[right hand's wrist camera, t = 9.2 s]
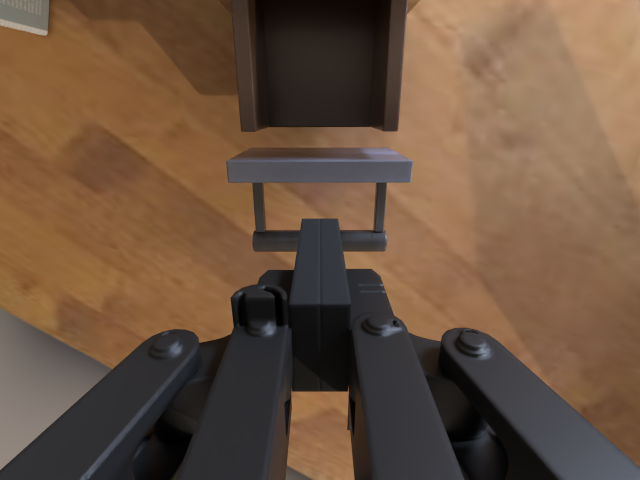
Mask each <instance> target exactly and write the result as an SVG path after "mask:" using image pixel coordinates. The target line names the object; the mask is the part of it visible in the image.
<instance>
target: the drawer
mask: <svg viewBox="0 0 640 480" xmlns="http://www.w3.org/2000/svg"><path fill="white" fill-rule="evenodd" d="M407 4H408V0H231V9H232V21H233V34H234V46H235V59H236V72H237V84H238V97H239V110H240V122H241V131H242V132H255V131H258V130H261V129H264V128H267V127H372V128H375V129H378V130H382V131H398V122H399V109H400V96H401V82H402V69H403V56H404V43H405V30H406V17H407ZM226 163H227V174H228V182H229V183H253V197H254V211H255V225H256V230H255V231H254V233H253V249H254V251H255V252H297V248H298V242H299V235H300V230H266V221H265V204H264V188H263V183H376V192H375V210H374V227H373V229H374V230H340V236H341V242H342V248H343V252H384V251H385V250H386V246H387V236H386V232H385V230H383V229H384V215H385V200H386V186H387V183H405V182H411V175H412V165H413V161H412V160H410V159H408V158H406V157H405V156H403V155H401V154H399V153H397V152H395V151H394V150H392V149H390V148H250V149H248V150H246V151H244V152H242V153H240V154H239V155H237V156H235V157H233V158H231V159H229V160H228V161H227V162H226Z"/></svg>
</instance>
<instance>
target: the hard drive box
mask: <svg viewBox="0 0 640 480" xmlns="http://www.w3.org/2000/svg"><path fill="white" fill-rule="evenodd" d="M48 18H49V0H0V26H4V27H9V28H13V29H18V30H22V31H26V32H31V33H35V34H39V35H44V36H46V35H47V34H48Z"/></svg>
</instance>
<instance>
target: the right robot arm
mask: <svg viewBox="0 0 640 480" xmlns="http://www.w3.org/2000/svg"><path fill="white" fill-rule="evenodd" d="M231 305H232V314H233V323H234V328H233V331H232V334H230V335H228V336H226V337H223V338H220V339H216V340H212V341H207V342H202V343H199V339H198V337H197V336H196V335H195V333H194V332H191V331H188V330H181V329H174V330H169V331H164V332H161V333H159V334H156V335H154V336H152V337H150V338H149V339H147V340H146V341H144V342H143V343H142V344H141V345H139V346H138V347H137V348H136V349H135V350H134V351H133V352H132V353H131V354H129V355H128V356H127V357H126V358H125V359H124V360H123V361H122V362H121V363H119V364H118V365H117V366H116V367H115V368H114V369H113V370H112V371H111V372H109V373H108V374H107V375H106V376H105V377H104V378H103V379H102V380H100V381H99V382H98V383H97V384H96V385H95V386H94V387H93V388H92V389H90V390H89V391H88V392H87V393H86V394H85V395H84V396H83V397H82V398H81V399H79V400H78V401H77V402H76V403H75V404H74V405H73V406H71V407H70V408H69V409H68V410H67V411H66V412H65V413H64V414H63V415H61V416H60V417H59V418H58V419H57V420H56V421H55V422H54V423H53V424H51V425H50V426H49V427H48V428H47V429H46V430H45V431H44V432H42V433H41V434H40V435H39V436H38V437H37V438H36V439H35V440H34V441H32V442H31V443H30V444H29V445H28V446H27V447H26V448H25V449H24V450H22V451H21V452H20V453H19V454H18V455H17V456H16V457H15V458H14V459H12V460H11V461H10V462H9V463H8V464H7V465H6V466H5V467H3V468H2V469H1V470H0V480H285V477H286V466H287V455H288V444H289V433H290V422H291V410H292V403H291V389H292V391H348V387H349V403H348V428H347V430H350V432H351V443H352V455H353V466H354V477H355V480H640V467H639V466H638V465H636V464H635V463H634V462H633V461H632V460H631V459H630V458H629V457H627V456H626V455H625V454H624V453H623V452H622V451H621V450H620V449H618V448H617V447H616V446H615V445H614V444H613V443H612V442H611V441H609V440H608V439H607V438H606V437H605V436H604V435H603V434H602V433H600V432H599V431H598V430H597V429H596V428H595V427H594V426H593V425H591V424H590V423H589V422H588V421H587V420H586V419H585V418H584V417H582V416H581V415H580V414H579V413H578V412H577V411H576V410H575V409H574V408H572V407H571V406H570V405H569V404H568V403H567V402H566V401H565V400H563V399H562V398H561V397H560V396H559V395H558V394H557V393H556V392H554V391H553V390H552V389H551V388H550V387H549V386H548V385H547V384H545V383H544V382H543V381H542V380H541V379H540V378H539V377H538V376H536V375H535V374H534V373H533V372H532V371H531V370H530V369H529V368H527V367H526V366H525V365H524V364H523V363H522V362H521V361H520V360H518V359H517V358H516V357H515V356H514V355H513V354H512V353H511V352H509V351H508V350H507V349H506V348H505V347H504V346H503V345H502V344H500V343H499V342H498V341H497V340H495V339H494V338H492V337H491V336H490V335H488V334H485V333H483V332H480V331H478V330H474V329H469V328H454V329H451V330H448V331H446V332H445V333H444V334H443V335H442V339H441V342H440V341H435V340H430V339H426V338H422V337H418V336H415V335H413V334H411V333H409V332H408V330H407V328H406V326H405V325H404V323H403V322H402V321H401V320H400V319H398V318H397V317H395V316H394V314H393V312H392V309H391V306H390V303H389V300H388V297H387V294H386V293H385V289H384V286H383V283H382V280H381V277H380V276H379V275H378V274H377V273H376V272H375V271H373V270H372V269H346V268H345V261H344V255H343V248H342V242H341V236H340V229H339V223H338V219H302V223H301V229H300V235H299V242H298V248H297V255H296V261H295V268H294V270H268V271H267V272H266V273H264V274H263V275H262V276H261V277H260V279H259V281H258V284H257V285H251V286H247V287H244V288H242V289H240V290H238V291H236V292H235V293H234V294H233V296H232V297H231Z"/></svg>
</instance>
